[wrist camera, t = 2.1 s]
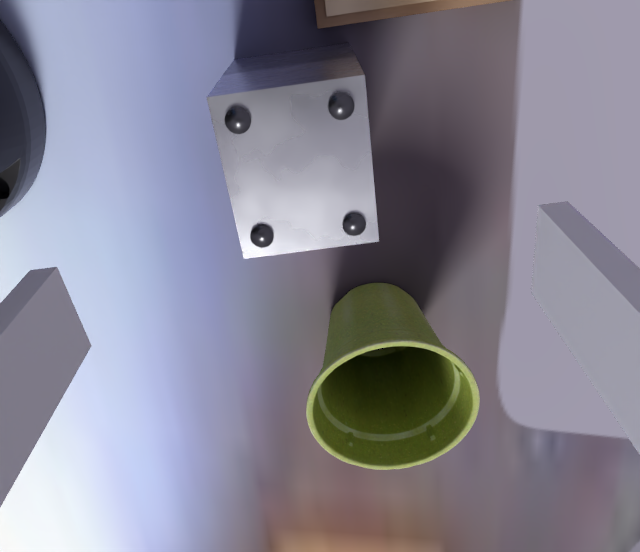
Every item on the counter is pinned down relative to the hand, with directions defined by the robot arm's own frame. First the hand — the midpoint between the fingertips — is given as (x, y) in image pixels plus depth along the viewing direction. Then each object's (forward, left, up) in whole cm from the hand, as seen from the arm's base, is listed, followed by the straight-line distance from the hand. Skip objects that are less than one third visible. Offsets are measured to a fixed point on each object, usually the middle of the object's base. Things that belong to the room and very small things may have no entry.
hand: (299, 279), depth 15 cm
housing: (0, 0, -17) cm, 17 cm away
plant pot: (+3, -14, -17) cm, 22 cm away
